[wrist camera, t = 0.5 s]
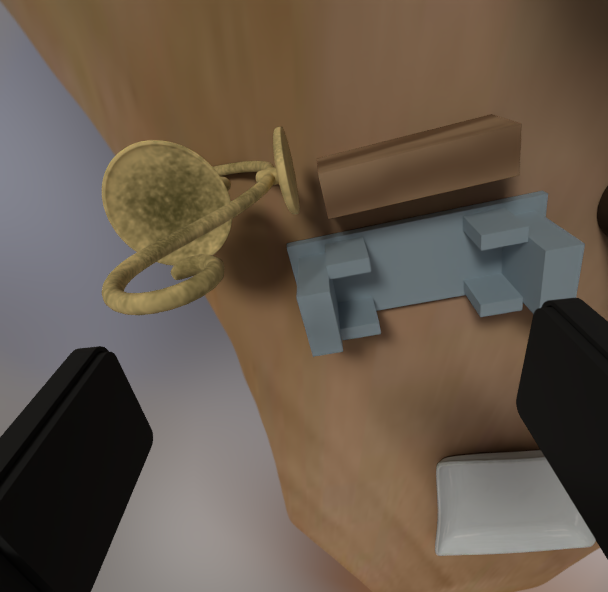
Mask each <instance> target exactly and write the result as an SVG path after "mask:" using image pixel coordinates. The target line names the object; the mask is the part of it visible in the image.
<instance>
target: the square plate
mask: <svg viewBox="0 0 608 592" xmlns="http://www.w3.org/2000/svg"><path fill="white" fill-rule="evenodd" d="M436 482H437V500H438V522H437V533H436V542H435V552H436V554H437V555H439V556H444V555H475V554H501V553H519V552H534V551H547V550H558V549H569V548H583V547H590V546H592V545H593V544H594V543H595V541H596V540H595V538H594V536H593V535H592V533H591V531H590V530H589V528H588V526H587V525H586V523H585V522H584V520H583V518H582V517H581V515H580V513H579V512H578V510H577V509H576V507H575V505H574V504H573V502H572V500H571V499H570V497H569V495H568V494H567V492H566V491H565V489H564V487H563V486H562V484H561V482H560V481H559V479H558V477H557V476H556V474H555V473H554V471H553V469H552V468H551V466H550V464H549V463H548V461H547V459H546V458H545V456H544V455H543V453H542V451H541V450H534V451H520V452H503V453H483V454H471V455H460V456H452V457H447V458H444V459H442V460H441V461H440V462H439V463H438V464H437V469H436Z"/></svg>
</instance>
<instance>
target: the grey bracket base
mask: <svg viewBox="0 0 608 592" xmlns="http://www.w3.org/2000/svg"><path fill="white" fill-rule="evenodd" d="M547 199H548V193H546V192H544V191H539V192H534V193H529V194H524V195H519V196H515V197H510V198H505V199H500V200H495V201H490V202H485V203H481V204H476V205H471V206H466V207H461V208H456V209H451V210H447V211H442V212H437V213H432V214H427V215H422V216H417V217H413V218H408V219H403V220H398V221H393V222H388V223H383V224H379V225H374V226H369V227H364V228H359V229H354V230H349V231H345V232H340V233H335V234H330V235H325V236H320V237H316V238H311V239H306V240H301V241H296V242H291V243H287V251H288V255H289V258H290V262H291V265H292V269H293V273H294V276H295V280H296V284H297V301H298V305H299V308H300V312H301V315H302V319H303V322H304V326H305V329H306V333H307V337H308V340H309V344H310V347H311V351H312V354H313V357H314V356H320V355H326V354H332V353H338V352H343V345H342V339H343V340H348V339H354V338H360V337H366V336H372V335H378V334H381V331H380V325H379V320H378V316H377V312H376V311H378V310H383V309H389V308H394V307H400V306H406V305H411V304H417V303H423V302H428V301H434V300H440V299H445V298H451V297H457V296H462V295H466V296H467V297H468V299H469V300H470V302H471V304H472V305H473V307H474V308H475V310H476V311H477V313H478V314H479V316H480V317H484V316H490V315H496V314H502V313H508V312H514V311H520V310H522V306H523V303H524V304H525V305H526V306H527V307H528V308H529V309H530V311H531V312H532V313H533V314H534V312H535V310H536V309H538V308H541V307H542V305H543V303H544V302H545V301H548V300H556V299H566V298H576V295H577V289H578V283H579V277H580V271H581V264H582V258H583V252H584V246H585V244H584V243H583V242H581V241H580V240H578V239H577V238H576V237H574V236H573V235H571V234H570V233H568V232H567V231H565V230H564V229H562V228H561V227H559V226H558V225H556V224H555V223H553V222H552V221H550V220H549V219H547V218H546V208H547ZM341 334H342V335H341Z"/></svg>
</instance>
